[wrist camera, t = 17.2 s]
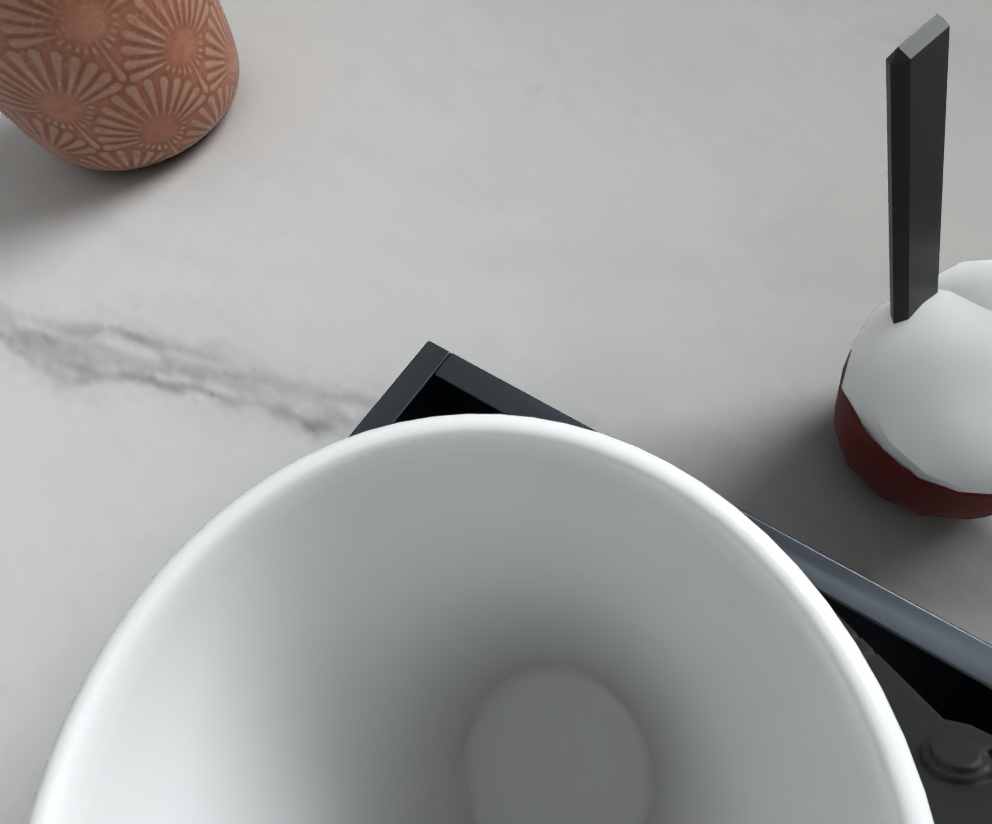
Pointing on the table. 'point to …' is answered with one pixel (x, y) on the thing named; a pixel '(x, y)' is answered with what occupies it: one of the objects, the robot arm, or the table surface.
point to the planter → (116, 76)
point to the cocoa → (922, 322)
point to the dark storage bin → (856, 599)
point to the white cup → (480, 654)
